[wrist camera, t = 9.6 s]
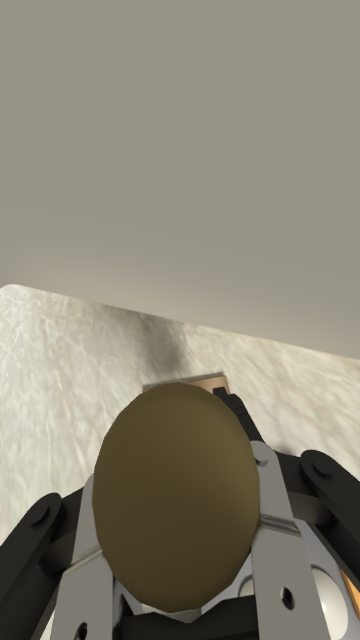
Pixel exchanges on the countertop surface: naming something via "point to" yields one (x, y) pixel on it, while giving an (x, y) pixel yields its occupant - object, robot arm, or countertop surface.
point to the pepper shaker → (176, 497)
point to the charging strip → (332, 584)
